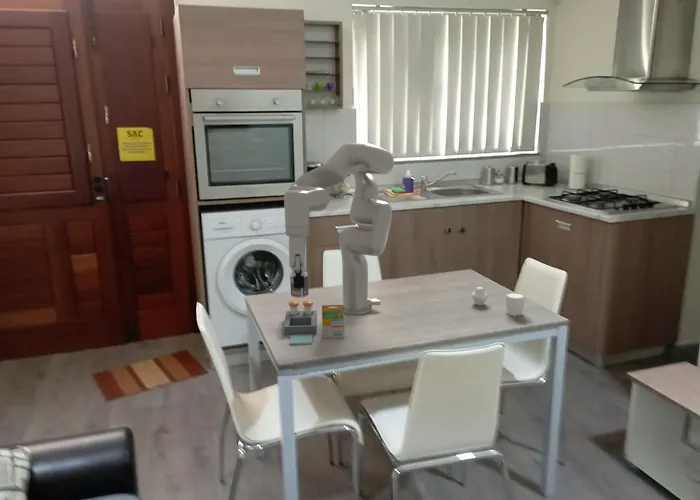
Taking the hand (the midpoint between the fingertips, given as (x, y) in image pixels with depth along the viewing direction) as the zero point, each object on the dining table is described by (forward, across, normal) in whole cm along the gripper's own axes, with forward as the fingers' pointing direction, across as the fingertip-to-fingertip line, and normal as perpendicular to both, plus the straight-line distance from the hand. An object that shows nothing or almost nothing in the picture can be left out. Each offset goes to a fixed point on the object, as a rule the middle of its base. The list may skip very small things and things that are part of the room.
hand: (299, 284), depth 180 cm
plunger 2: (+19, -17, +2) cm, 25 cm away
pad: (+19, 0, 0) cm, 19 cm away
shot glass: (+20, -18, +77) cm, 82 cm away
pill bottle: (+4, 0, 0) cm, 4 cm away
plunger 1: (+19, -17, -3) cm, 25 cm away
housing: (+19, -12, -1) cm, 23 cm away
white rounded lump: (+20, -30, +67) cm, 76 cm away
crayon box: (+20, -2, +11) cm, 22 cm away
